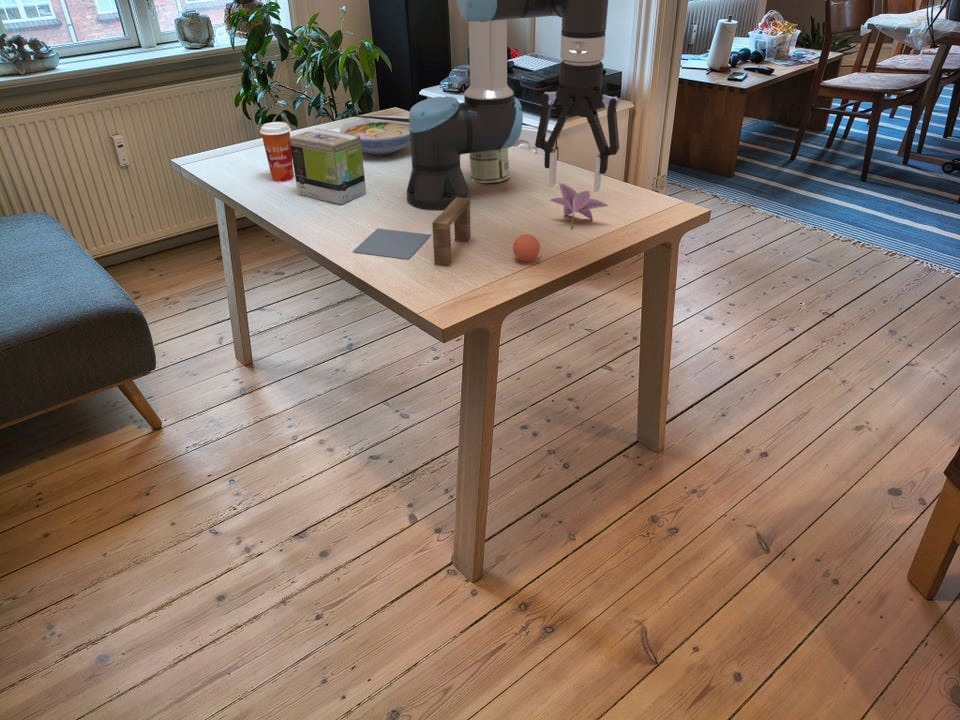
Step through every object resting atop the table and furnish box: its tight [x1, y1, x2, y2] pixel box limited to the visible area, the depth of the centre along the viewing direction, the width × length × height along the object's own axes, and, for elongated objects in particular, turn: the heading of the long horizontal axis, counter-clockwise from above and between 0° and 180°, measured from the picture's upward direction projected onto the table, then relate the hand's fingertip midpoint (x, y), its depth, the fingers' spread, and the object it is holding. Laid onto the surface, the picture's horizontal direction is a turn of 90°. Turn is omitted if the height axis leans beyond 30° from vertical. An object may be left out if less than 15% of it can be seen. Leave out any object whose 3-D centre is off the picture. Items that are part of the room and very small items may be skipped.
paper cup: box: [259, 121, 295, 183], centre depth 196 cm, size 8×8×14 cm
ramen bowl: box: [339, 114, 411, 156], centre depth 216 cm, size 25×23×8 cm
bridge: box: [431, 197, 472, 267], centre depth 157 cm, size 3×14×9 cm, turn 162°
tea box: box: [289, 127, 367, 205], centre depth 185 cm, size 15×10×15 cm, turn 57°
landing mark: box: [351, 228, 432, 261], centre depth 163 cm, size 13×13×1 cm
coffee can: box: [468, 148, 510, 184], centre depth 194 cm, size 10×10×14 cm
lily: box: [549, 182, 608, 231], centre depth 169 cm, size 12×12×10 cm
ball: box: [512, 233, 541, 262], centre depth 154 cm, size 6×6×6 cm
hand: (574, 186), depth 143 cm, fingers open, 8 cm apart
